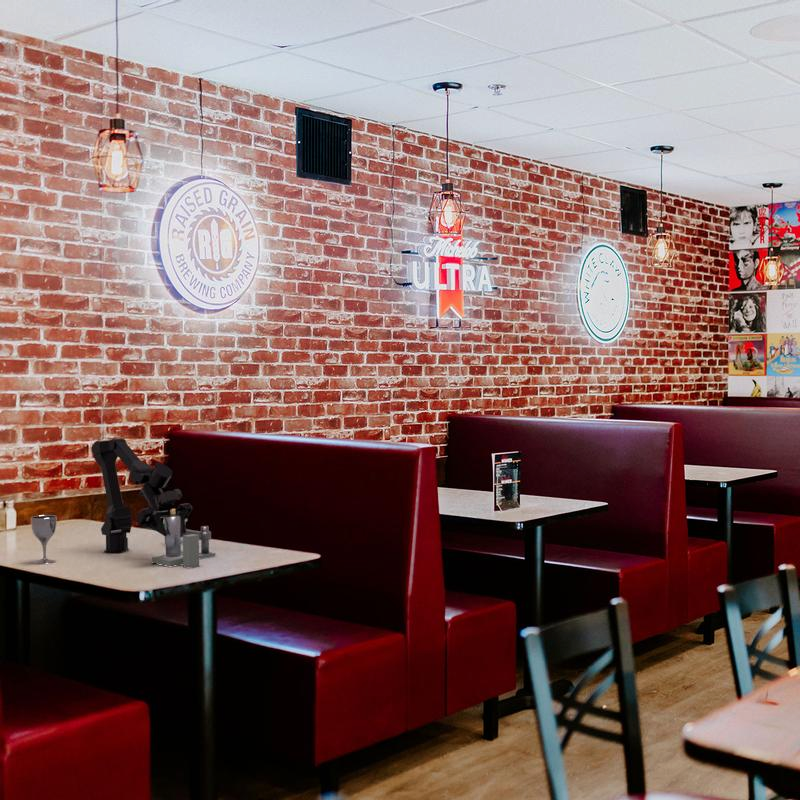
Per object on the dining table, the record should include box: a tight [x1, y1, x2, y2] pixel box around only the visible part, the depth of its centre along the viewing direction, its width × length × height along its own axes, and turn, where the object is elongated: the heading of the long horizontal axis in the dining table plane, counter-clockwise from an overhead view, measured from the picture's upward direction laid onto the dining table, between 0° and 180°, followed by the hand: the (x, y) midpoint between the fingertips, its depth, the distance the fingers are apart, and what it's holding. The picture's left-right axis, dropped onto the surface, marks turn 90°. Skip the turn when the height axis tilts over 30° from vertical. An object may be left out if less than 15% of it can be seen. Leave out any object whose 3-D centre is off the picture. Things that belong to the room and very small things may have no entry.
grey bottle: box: [164, 508, 182, 558], centre depth 324 cm, size 5×5×15 cm
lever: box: [181, 525, 212, 553], centre depth 340 cm, size 17×4×9 cm, turn 48°
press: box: [151, 534, 217, 568], centre depth 326 cm, size 16×22×10 cm
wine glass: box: [30, 514, 58, 565], centre depth 328 cm, size 8×8×15 cm
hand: (175, 534), depth 323 cm, fingers open, 7 cm apart
